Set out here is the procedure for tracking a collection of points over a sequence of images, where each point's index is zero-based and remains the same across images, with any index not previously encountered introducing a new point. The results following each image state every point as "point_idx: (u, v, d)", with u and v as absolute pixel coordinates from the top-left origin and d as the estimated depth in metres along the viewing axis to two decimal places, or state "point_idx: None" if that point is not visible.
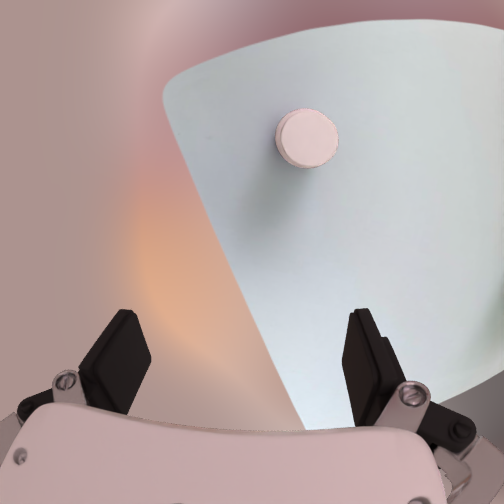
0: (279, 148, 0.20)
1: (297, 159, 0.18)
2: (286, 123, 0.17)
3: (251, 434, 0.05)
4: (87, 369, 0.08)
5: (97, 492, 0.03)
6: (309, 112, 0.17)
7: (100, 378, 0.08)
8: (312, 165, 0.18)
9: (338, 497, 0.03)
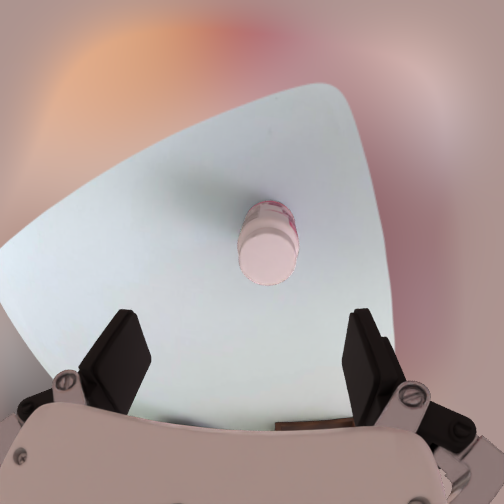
0: (256, 222, 0.21)
1: (245, 248, 0.19)
2: (282, 238, 0.19)
3: (251, 434, 0.05)
4: (87, 369, 0.08)
5: (97, 492, 0.03)
6: (294, 260, 0.19)
7: (100, 378, 0.08)
8: (240, 262, 0.20)
9: (338, 497, 0.03)
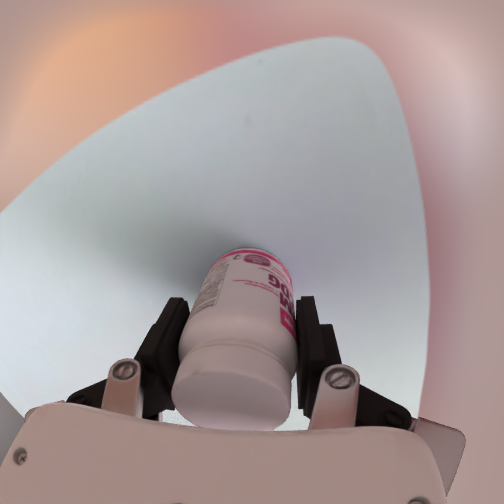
0: (209, 323, 0.09)
1: (181, 389, 0.08)
2: (260, 381, 0.07)
3: (251, 434, 0.05)
4: (150, 356, 0.09)
5: (97, 492, 0.03)
6: (286, 410, 0.08)
7: (162, 365, 0.09)
8: (176, 406, 0.08)
9: (338, 497, 0.03)
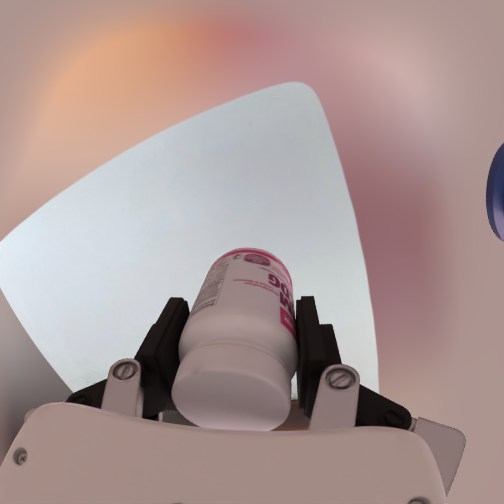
0: (209, 322, 0.09)
1: (181, 389, 0.08)
2: (260, 380, 0.07)
3: (251, 434, 0.05)
4: (150, 356, 0.09)
5: (97, 492, 0.03)
6: (286, 409, 0.08)
7: (162, 365, 0.09)
8: (176, 405, 0.08)
9: (338, 497, 0.03)
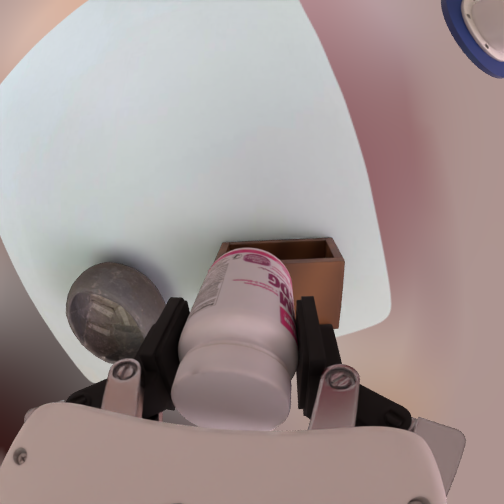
0: (208, 322, 0.09)
1: (180, 389, 0.08)
2: (260, 380, 0.07)
3: (251, 434, 0.05)
4: (150, 356, 0.09)
5: (97, 492, 0.03)
6: (286, 410, 0.08)
7: (162, 365, 0.09)
8: (176, 405, 0.08)
9: (338, 497, 0.03)
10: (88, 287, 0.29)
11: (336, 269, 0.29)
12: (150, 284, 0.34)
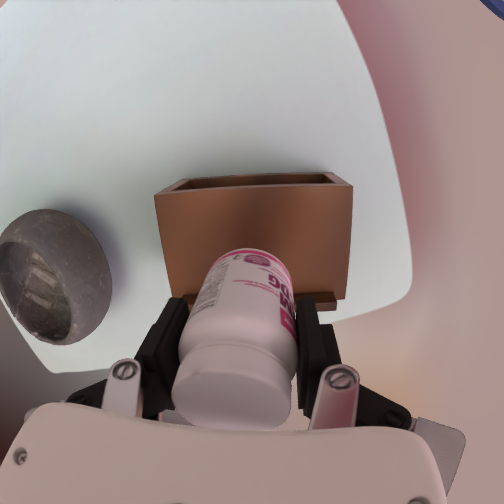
0: (209, 323, 0.09)
1: (181, 390, 0.08)
2: (260, 381, 0.07)
3: (251, 434, 0.05)
4: (150, 356, 0.09)
5: (97, 492, 0.03)
6: (286, 411, 0.08)
7: (162, 365, 0.09)
8: (176, 406, 0.08)
9: (338, 497, 0.03)
10: (10, 234, 0.18)
11: (340, 199, 0.18)
12: (86, 234, 0.24)
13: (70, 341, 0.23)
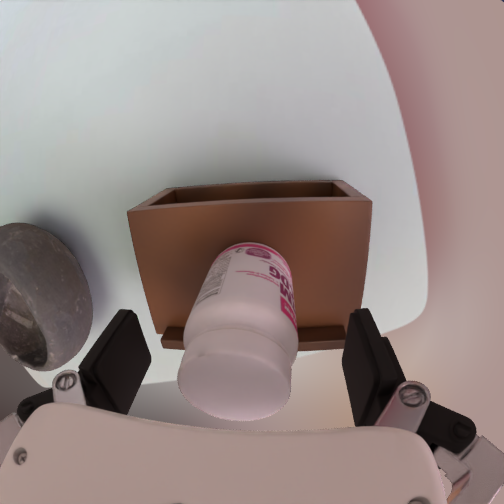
0: (213, 309, 0.10)
1: (187, 372, 0.09)
2: (262, 362, 0.08)
3: (251, 434, 0.05)
4: (87, 369, 0.08)
5: (97, 492, 0.03)
6: (286, 392, 0.09)
7: (100, 378, 0.08)
8: (181, 390, 0.09)
9: (338, 497, 0.03)
10: None
11: (357, 217, 0.15)
12: (61, 253, 0.20)
13: (49, 368, 0.19)
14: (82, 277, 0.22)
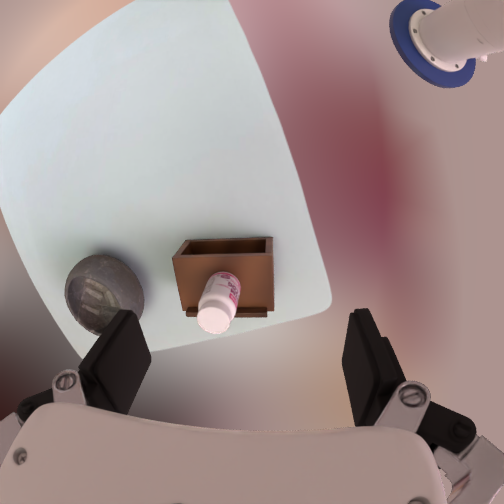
0: (208, 296, 0.33)
1: (200, 314, 0.32)
2: (220, 310, 0.32)
3: (251, 434, 0.05)
4: (87, 369, 0.08)
5: (97, 492, 0.03)
6: (228, 321, 0.32)
7: (100, 378, 0.08)
8: (197, 321, 0.32)
9: (338, 497, 0.03)
10: (82, 273, 0.38)
11: (266, 262, 0.38)
12: (129, 272, 0.43)
13: None
14: None
